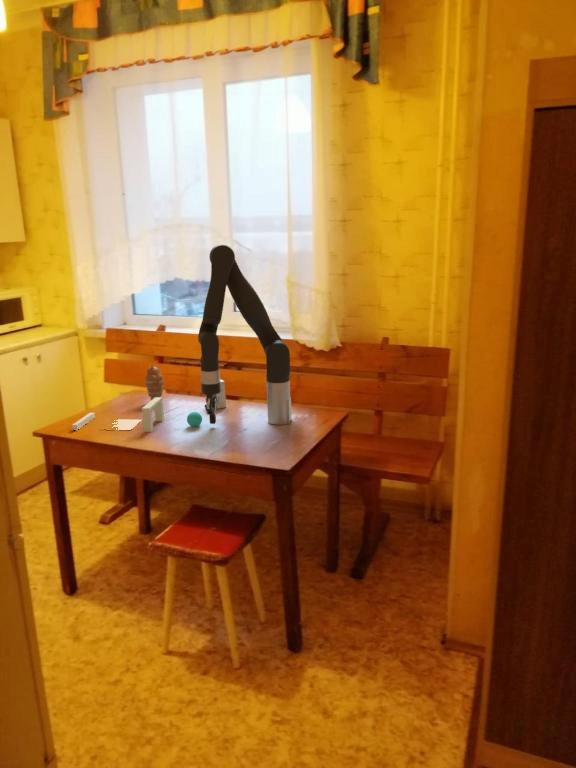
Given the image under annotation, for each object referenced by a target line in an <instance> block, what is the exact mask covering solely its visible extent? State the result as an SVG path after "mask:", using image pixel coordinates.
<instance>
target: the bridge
mask: <svg viewBox="0 0 576 768" xmlns="http://www.w3.org/2000/svg"><path fill="white" fill-rule="evenodd" d="M163 404H164V402H163V397H162V396H161V397H155V398H154V399H153V400H151V399H150V401H149V402H147V403H146V404H145V405H144V406H143V407H141V414H142V425H143V432H144V433H152V432H153V431H154V426H153V416H152V415H153V414H152V410H153V409H154V418H155V419H154V420H155V422H164V420H165V417H164V416H165V414H164V405H163Z"/></svg>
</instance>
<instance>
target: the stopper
mask: <svg viewBox="0 0 576 768" xmlns="http://www.w3.org/2000/svg"><path fill="white" fill-rule="evenodd" d="M93 418H95V419H96V413H95V412H89V413H87V414H86V415H85V416H83V417H81V418H80V419H78V420H77V421H76V422H74V423H73V424H71V426H72V431H73V430H78V429H80V428H81V427H82V426H83V425H85V424H86V423H88V422H89V421H90V420H92V419H93ZM92 421H93V420H92ZM89 423H90V422H89ZM89 423H88V424H89ZM85 426H86V425H85ZM82 428H83V427H82ZM82 428H81V429H82ZM81 429H80V430H81ZM78 431H79V430H78Z"/></svg>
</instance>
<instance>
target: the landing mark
mask: <svg viewBox="0 0 576 768" xmlns="http://www.w3.org/2000/svg"><path fill="white" fill-rule="evenodd" d="M114 421H115V420H114ZM116 421H118V422H116V423H115V422H114V423H112V424H117V423H118V424H117V425H114V426H113V427H118V430H117V428H116V430H115V431H119V430H131V429H132V430H133V429H134V428H136V427H137V426H138V425H139V424H140V423H141V422H143V419H127V418H125V419H123V418H121V419H119V418H118V420H116ZM139 422H140V423H139ZM138 423H139V424H138ZM137 424H138V425H137ZM113 427H112V428H113ZM132 430H131V431H132Z"/></svg>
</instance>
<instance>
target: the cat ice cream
mask: <svg viewBox="0 0 576 768" xmlns="http://www.w3.org/2000/svg"><path fill="white" fill-rule="evenodd" d="M163 378H164V377H163V374H162V372H161V370H160V369H159V368H158V367H157V364H156V363H154V364H153V366H152V365H151V366H149V367H148V368H147V369H146V375H145V377H144V380H145V387H146V390H147V392H148V396H149V398H150V401H151V400H153V399H154V398H155V397H162V395H163V390H164V388H163V386H164V380H163Z"/></svg>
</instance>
